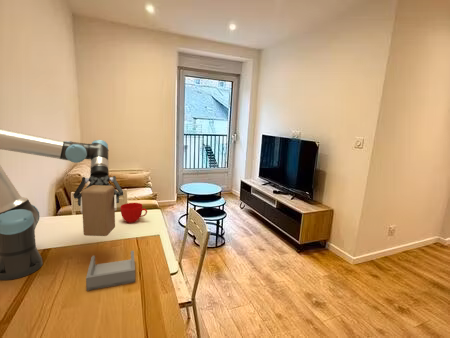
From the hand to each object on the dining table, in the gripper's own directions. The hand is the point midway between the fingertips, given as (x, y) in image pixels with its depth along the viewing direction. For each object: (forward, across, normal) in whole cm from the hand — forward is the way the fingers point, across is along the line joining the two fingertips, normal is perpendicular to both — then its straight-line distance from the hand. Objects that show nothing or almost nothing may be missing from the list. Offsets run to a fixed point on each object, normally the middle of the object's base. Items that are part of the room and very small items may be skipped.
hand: (99, 210), depth 106 cm
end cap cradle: (+25, -5, -7) cm, 27 cm away
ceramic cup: (-14, -17, -49) cm, 54 cm away
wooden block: (+6, 0, -9) cm, 11 cm away
